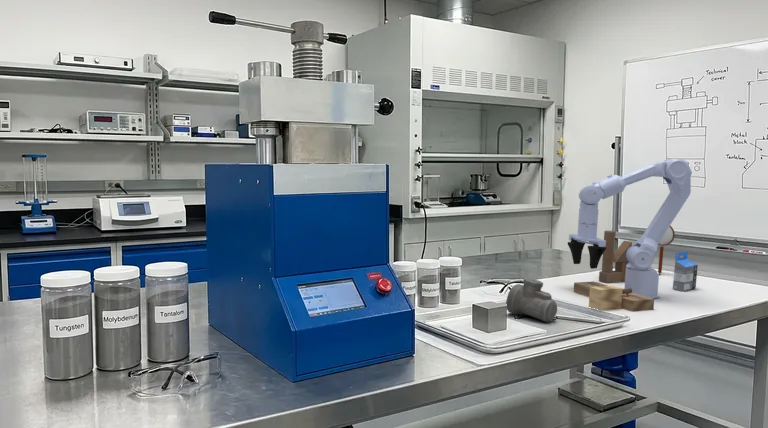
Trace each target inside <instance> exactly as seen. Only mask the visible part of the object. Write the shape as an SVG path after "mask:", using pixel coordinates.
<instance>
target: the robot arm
mask: <svg viewBox="0 0 768 428" xmlns="http://www.w3.org/2000/svg"><path fill="white" fill-rule="evenodd" d="M692 173H693V171H692V169H691V167H690V165H689V163H688V162H687V161H686V160H685V159H684V158H667V159H664V160H662V161H656V162H654V163H653V162H652V163H649V164H648V165H645V166H643V167H641V168H638V169H636V170H633V171H632V172H629V173H627V174H624V175H622V176H620V175H618V174H614V175H612V174H608V175H606V177H607V178H603V179H601V180H599V181H592V184H591V185H589V184H588V185H585V186H583V187H582V188H581V189H580V191H579V193H578V198H579V201H580V202H579V209H578V223H577V234H571V233H570V234H568V242H567V245H568V248H569V251H570V253H571V257H572V262H573V265H580V264H581V261H582V255H583V254H582V253H583V250H584V248H585V245H586V244H587V250H588V254H589V268H590V269H591V270H594V269H597V268H598V265H599V263H600V260H601V258H602V257H603V253H604V251H605V250H606V240H604V239H602V238H598V237H597V235H598V234H597V233H598V224H599V223H598V221H599V202H600V201H601V200H604V199H607V198H611V197H612V196H615V195H618V194H620V193H623V192H624V191H625V188H626V187H627V186H630V185H632V184H634V183H637V182H641V181H643V180H647V179H649V178H652V177H657V178H658V177H660V178H662V179H664V181H665V182H666V183H667V187H668V190H669V193H668V195H667V196H666V198H665V200H664V201H663V203H662V204H661V206H660V207H659V209H658V210H657V212H656V214H655V215H654V217H653V219H652V220H651V221H650V223H649V225H648V226H647V227H646V229H645V231H644V233H643V234H642V236H640V237H639V238H638V239H637V240H636V242H634V244H632V246H631V247H629V248H628V250H627V252H626V258H627V260H628V261H629V263H628V264H627V265H626V275H625V282H624V288H623V289H628V288H631V289H632V293H635V294H639V295H642V296H645V297H649V298H652V299H657V298H658V299H659V298H660V296H659V295H658V294H659V292H658V291H659V280H660V279H659V278H660V277H659V276H660V275H659V273H658V270H656V269H654V267H652V265H653V263H654V259H655V258H654V257H655V255H656V253H657V250H658V246H659V245H658V243H659V242H660V240H661V239H662V237H663V236H664V234H665V232H666V231H667V229H668V228H669V226H671V224H672V223H673V222H674V220H675V218H676V217H677V215H679V213H680V211H681V209H682V208H683V206H684V205H685V203H686V202H687V199H688V198H689V197H690V196H691V192H692V191H691V190H692V189H691V187H692V186H691V182H692V180H691V179H692V178H691V177H692Z"/></svg>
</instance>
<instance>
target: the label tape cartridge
mask: <svg viewBox="0 0 768 428" xmlns="http://www.w3.org/2000/svg"><path fill="white" fill-rule="evenodd" d="M674 255H675V259H674V261H675V262H674V268H673V269H674V271H673V283H672V290H673V289H674V290H673V291H677V290H678V291H679V292H682V291H684V292H687V290H688V291H692V290H695V288H696V287H697V277H698V264H697V263H695V262H694V261H691V260H690V259H688V255H689V254H688V251H682V252H676V253H675V254H674ZM691 289H692V290H691Z"/></svg>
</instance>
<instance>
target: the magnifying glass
mask: <svg viewBox="0 0 768 428" xmlns="http://www.w3.org/2000/svg"><path fill="white" fill-rule="evenodd" d="M675 235H676V234H675V230H674V228H673V227H672V226H671V225H670V226H669V228H668V229H667V231H666V232H665V234H664V236H663V237H662V239H661V240H660V242H659V243H658V246H659V257H658V267H657V268H658V270H657V273H658V275H659V274H662V271H663V269H662V268H663V262H664V261H663V259H664V246H665V247H666V246H668V245H670V244H671V243H673V241H674V239H675Z"/></svg>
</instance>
